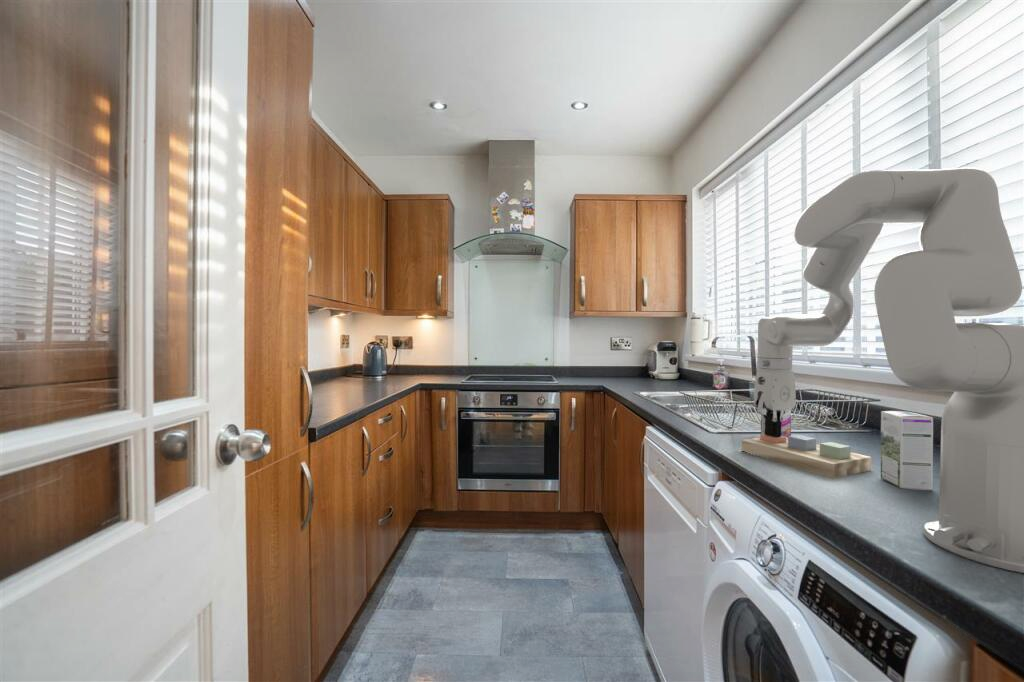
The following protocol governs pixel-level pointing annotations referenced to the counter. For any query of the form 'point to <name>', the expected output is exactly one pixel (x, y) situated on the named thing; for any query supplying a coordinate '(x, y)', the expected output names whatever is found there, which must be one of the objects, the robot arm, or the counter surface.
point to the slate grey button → (802, 442)
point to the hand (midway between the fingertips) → (772, 435)
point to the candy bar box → (784, 425)
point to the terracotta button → (773, 439)
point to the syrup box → (907, 449)
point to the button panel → (808, 458)
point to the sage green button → (835, 450)
